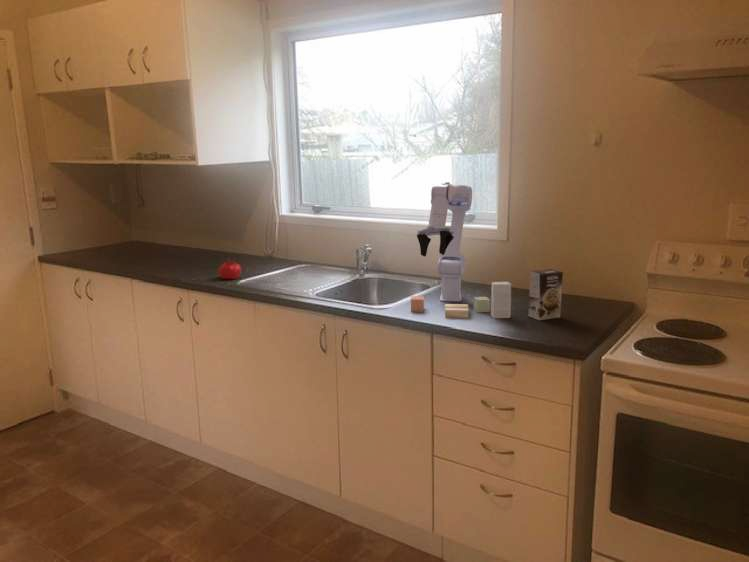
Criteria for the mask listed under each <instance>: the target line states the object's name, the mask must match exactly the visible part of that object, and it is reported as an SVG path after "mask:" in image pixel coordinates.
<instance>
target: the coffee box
mask: <svg viewBox="0 0 749 562" xmlns="http://www.w3.org/2000/svg"><path fill="white" fill-rule="evenodd" d="M563 274H564V272H563V271H560V270H556V269H551V268H550V269H541V270H540V269H539V270H531V271H530V279H529V281H530V282H529V296H528V297H529V298H528V299H529V300H528V317H530V318H532V319H535V320H537V321H545V320H551V319H552V320H553V319H559V318H561V309H562V296H563V295H562V294H563V293H562V292H563V290H562V289H563V278H564V277H563Z"/></svg>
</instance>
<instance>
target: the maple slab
mask: <svg viewBox="0 0 749 562" xmlns="http://www.w3.org/2000/svg"><path fill="white" fill-rule="evenodd" d="M444 306H445V307H444V318H460V319H461V318H463V319H464V318H467V319H469V304H465V303H464V304H463V303H461V304H459V303H452V304H451V303H445V304H444Z"/></svg>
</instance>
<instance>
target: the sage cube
mask: <svg viewBox="0 0 749 562" xmlns="http://www.w3.org/2000/svg"><path fill="white" fill-rule="evenodd" d="M473 310H474V311H475V312H477V313H487V312H488V313H491V299H490V298H489V297H487V296H475V297H473Z"/></svg>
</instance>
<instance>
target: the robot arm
mask: <svg viewBox="0 0 749 562" xmlns="http://www.w3.org/2000/svg"><path fill="white" fill-rule="evenodd" d="M430 192H431V194H430V197H431V198H430V204H431V205H430V206H431V207H430V213H429V219H428V225H427V227H425V228H422V229H419V230H417V233H416V237H417V240H418V244H419V249H420V255H421V256H422V257H427V252H428V248H429V244H430V243H431V241H432V239H431V238H430V236H439V251H438V252H439V254H440V256H439V259H438V261H437V267H436V268H437V269H436V270H437V273H438V275H439V276H440V278H441V294H440V302H462V295H461V284H462V282H461V281H462V280H461V279H462V278H461V277H463V276H464V275H465V273H466V257H465V255H463V254H462V253H461V252H460V251H461V244H462V242H461V241H462V236H463V230H464V229H463V228H464V224H465V222H464V221H465V217H466V214H467V213H466V212H468V211H470V210H471V207H472V201H473V189H472V187H471V186H469V185H463V184H461V185H460V184H451V182H450V181H445V182H443V183H441V184H434V186H432V187H431V191H430ZM448 210H449V211H450V212H451V214H452V217H451V221H450V223H451V224H450V225H449V226H446V223H447V216H448V212H449V211H448Z"/></svg>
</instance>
